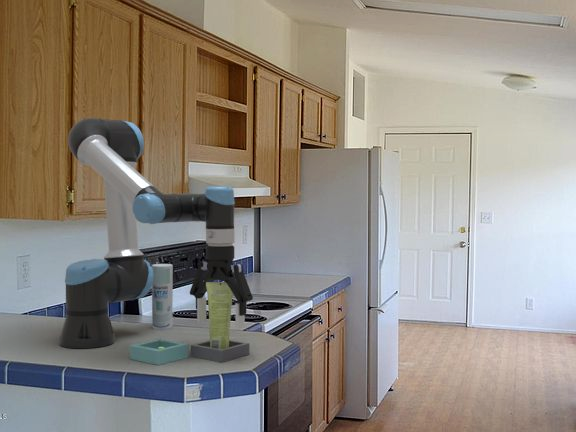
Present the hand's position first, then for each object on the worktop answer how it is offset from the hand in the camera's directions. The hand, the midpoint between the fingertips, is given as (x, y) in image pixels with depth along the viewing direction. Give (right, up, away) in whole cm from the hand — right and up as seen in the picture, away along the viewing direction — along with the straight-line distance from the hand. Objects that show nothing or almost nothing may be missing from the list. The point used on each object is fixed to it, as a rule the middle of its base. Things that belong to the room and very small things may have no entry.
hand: (220, 324), depth 190 cm
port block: (-16, -8, -3) cm, 18 cm away
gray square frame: (0, -8, 0) cm, 8 cm away
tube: (0, -8, 0) cm, 8 cm away
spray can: (-22, -7, +37) cm, 43 cm away
